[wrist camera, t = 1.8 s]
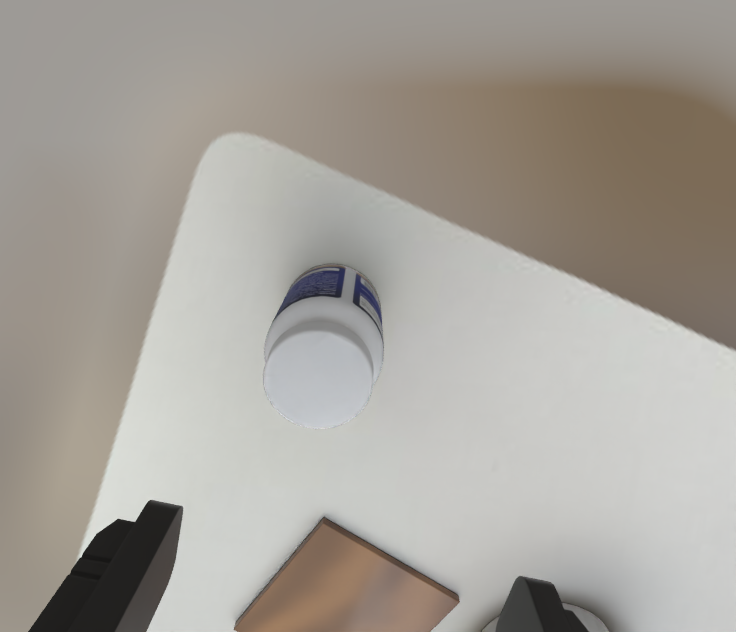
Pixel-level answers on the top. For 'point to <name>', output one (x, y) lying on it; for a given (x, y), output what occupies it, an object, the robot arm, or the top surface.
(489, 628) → the grey countertop holder stand
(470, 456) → the top surface
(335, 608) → the coaster
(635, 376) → the top surface
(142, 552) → the robot arm
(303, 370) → the pill bottle
